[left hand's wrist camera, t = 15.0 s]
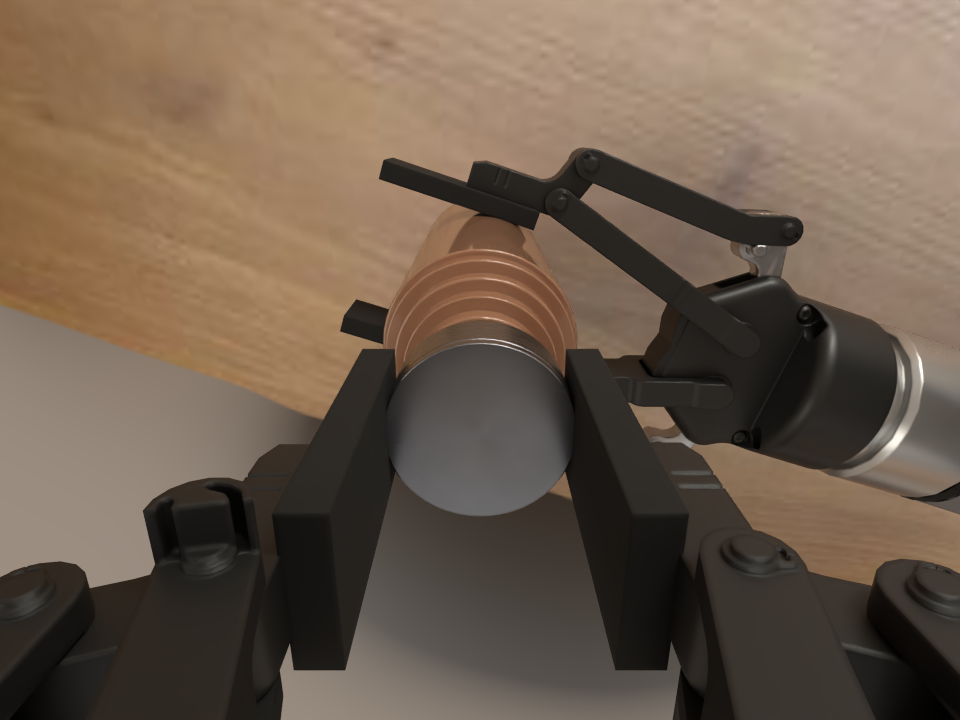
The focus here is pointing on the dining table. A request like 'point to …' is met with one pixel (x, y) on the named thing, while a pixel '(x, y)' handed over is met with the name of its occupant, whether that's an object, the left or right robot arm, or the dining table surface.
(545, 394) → the cap
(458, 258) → the bottle
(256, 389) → the dining table surface
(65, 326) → the dining table surface
